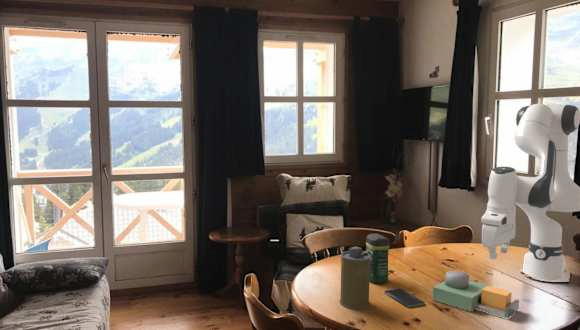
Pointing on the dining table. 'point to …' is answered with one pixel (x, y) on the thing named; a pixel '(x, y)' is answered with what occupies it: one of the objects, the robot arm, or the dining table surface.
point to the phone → (404, 298)
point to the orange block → (495, 297)
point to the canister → (355, 278)
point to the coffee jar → (378, 257)
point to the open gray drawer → (506, 314)
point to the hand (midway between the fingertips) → (498, 255)
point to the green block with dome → (458, 291)
